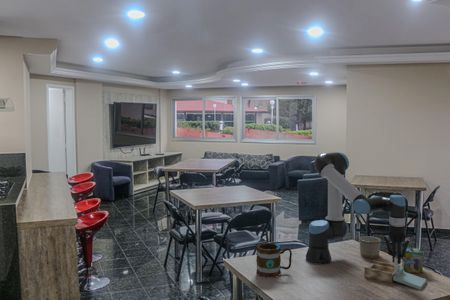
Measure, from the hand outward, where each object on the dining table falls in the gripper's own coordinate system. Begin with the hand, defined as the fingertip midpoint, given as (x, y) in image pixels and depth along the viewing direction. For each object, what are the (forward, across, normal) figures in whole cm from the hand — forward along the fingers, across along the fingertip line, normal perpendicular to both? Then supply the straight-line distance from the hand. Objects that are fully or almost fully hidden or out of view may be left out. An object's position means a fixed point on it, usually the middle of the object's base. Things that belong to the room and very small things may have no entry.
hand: (396, 269), depth 203 cm
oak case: (+6, -7, 0) cm, 9 cm away
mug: (+6, -55, -32) cm, 64 cm away
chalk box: (+6, +3, +20) cm, 21 cm away
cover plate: (+5, +6, 0) cm, 8 cm away
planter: (+6, -24, +30) cm, 39 cm away
